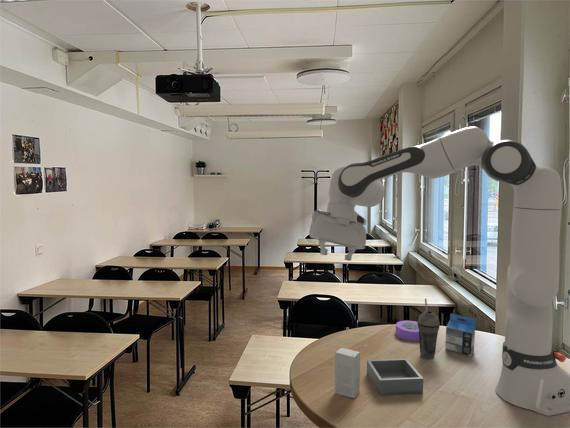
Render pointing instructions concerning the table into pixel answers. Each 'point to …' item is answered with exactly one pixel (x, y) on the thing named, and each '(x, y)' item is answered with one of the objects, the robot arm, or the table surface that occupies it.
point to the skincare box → (347, 372)
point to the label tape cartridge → (460, 335)
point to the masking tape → (407, 330)
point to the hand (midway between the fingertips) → (336, 257)
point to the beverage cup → (428, 333)
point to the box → (394, 377)
